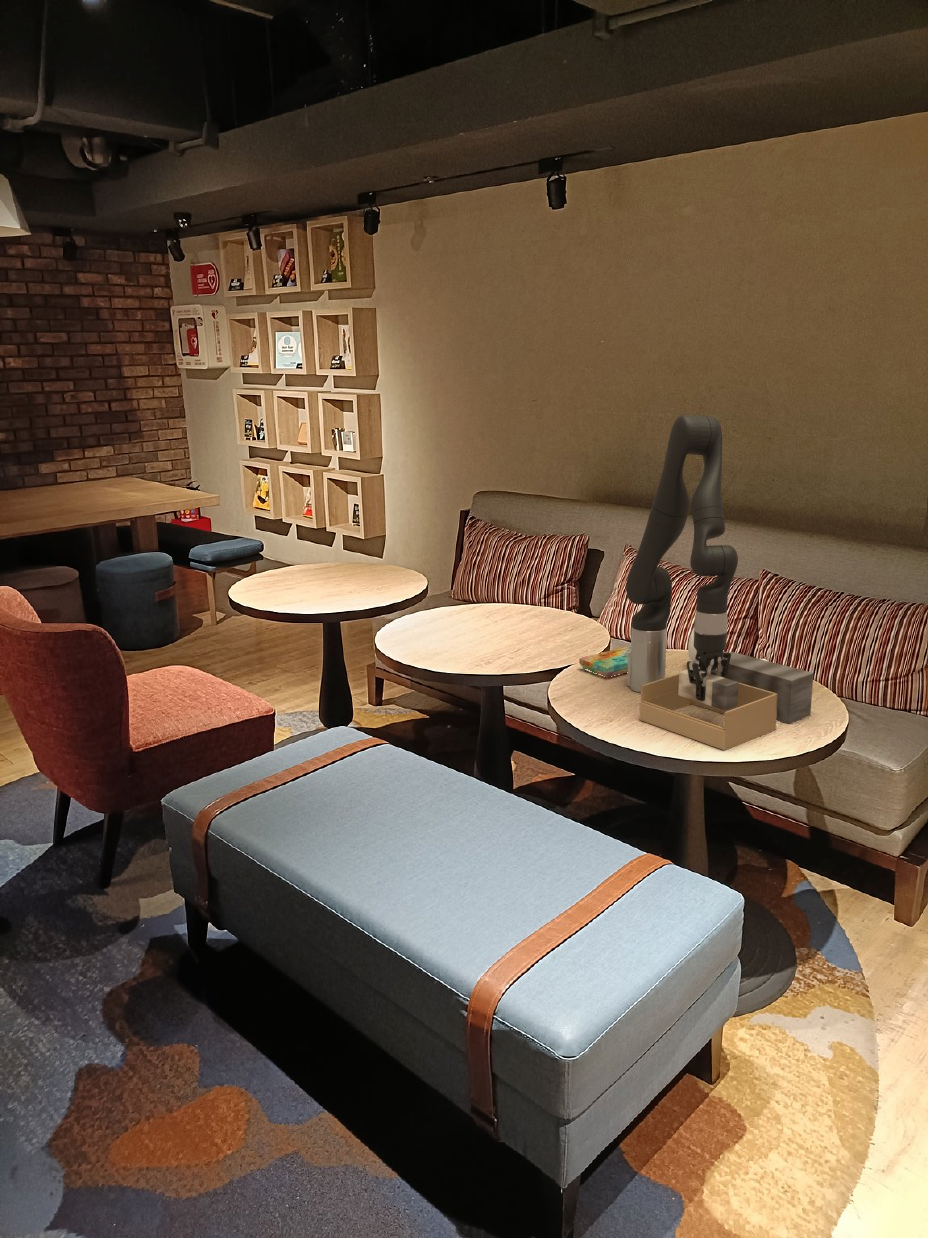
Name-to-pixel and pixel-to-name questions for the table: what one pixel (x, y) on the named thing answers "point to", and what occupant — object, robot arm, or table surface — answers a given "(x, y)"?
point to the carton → (739, 722)
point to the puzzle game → (607, 662)
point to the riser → (775, 684)
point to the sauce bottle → (691, 647)
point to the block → (711, 690)
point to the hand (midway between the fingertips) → (707, 697)
